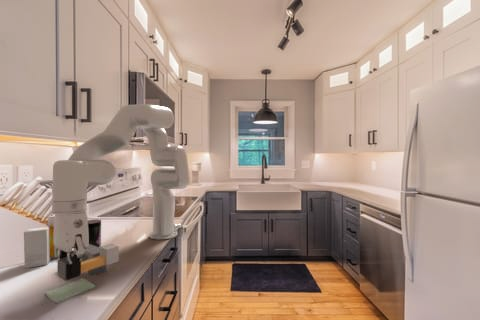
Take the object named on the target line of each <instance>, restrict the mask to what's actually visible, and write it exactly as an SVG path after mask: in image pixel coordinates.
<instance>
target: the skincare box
mask: <svg viewBox="0 0 480 320" xmlns="http://www.w3.org/2000/svg"><path fill="white" fill-rule="evenodd" d="M23 247H24V248H23V249H24V250H23V253H24V255H23V257H24V268H25V269H29V268H35V267H40V266H46V265H48V264H49V263H50V261H51V258H50V233H49V227H48V226H43V227H33V228H27V229H26V230H25V231H24V232H23Z"/></svg>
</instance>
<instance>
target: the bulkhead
mask: <svg viewBox="0 0 480 320" xmlns="http://www.w3.org/2000/svg"><path fill="white" fill-rule="evenodd" d="M73 250H76V248H73ZM84 251H85V254H84V255H83V256H82V261H86V260H89V259H92V258H95V257H98V256H100V247H96V246H94V245H91V244H89V246H88V248H86V249H84ZM75 254H76V253H73V255H75ZM82 261H81V262H82ZM106 271H107V265H103V266H100V267H97V268H94V269H91V270H88V271H87V273H88V274H89V275H91V276H96V275H98V274H101V273H104V272H106Z"/></svg>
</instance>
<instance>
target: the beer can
mask: <svg viewBox="0 0 480 320" xmlns="http://www.w3.org/2000/svg"><path fill="white" fill-rule="evenodd" d="M51 215H53V216H51ZM54 219H55V215H54V214H50V215H49V217H48V218H47V227H49V233H50V259H52V260H53V259H58V258H57V254H58V251H57V247H55V246H54V242H53V231H54Z"/></svg>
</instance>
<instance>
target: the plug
mask: <svg viewBox="0 0 480 320" xmlns="http://www.w3.org/2000/svg"><path fill="white" fill-rule="evenodd" d="M99 248H100V256H98V257H95V258H92V259H89V260H86V261H82V262H81V274H83V273H86V272H88V270H91V269H94V268H97V267H100V266H103V265H106V266H109V265H111V264H114V263H117V262H119V245H116V244H114V243H109V244H105V245H100V247H99ZM73 255H74V254H72V257H73ZM66 264H68V258H67V257H65V258H61V259H58V258H57V271H58V273H57V276H58V277H59V278H60V279H63V281H68V280H67V279H66Z"/></svg>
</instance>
